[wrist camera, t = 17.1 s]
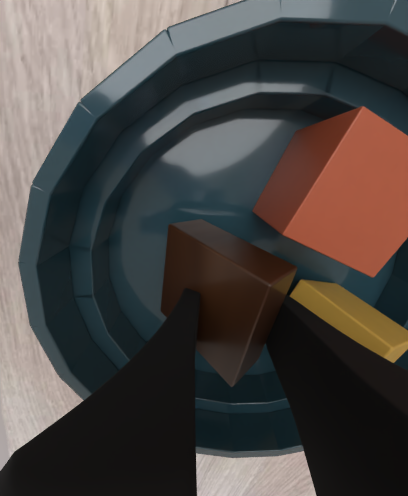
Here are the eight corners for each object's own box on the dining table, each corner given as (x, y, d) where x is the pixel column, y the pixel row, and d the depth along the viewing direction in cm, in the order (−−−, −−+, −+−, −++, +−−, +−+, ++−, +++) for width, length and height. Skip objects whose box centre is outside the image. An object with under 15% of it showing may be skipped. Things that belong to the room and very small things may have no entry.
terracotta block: (251, 211, 10) (281, 235, 7) (296, 130, 9) (363, 105, 5) (314, 241, 11) (373, 278, 7) (363, 170, 10) (464, 172, 6)
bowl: (54, 336, 14) (-8, 410, 9) (157, -39, 8) (109, -297, 3) (292, 406, 17) (323, 482, 13) (493, 189, 11) (674, 202, 7)
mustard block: (260, 337, 11) (325, 419, 8) (300, 278, 10) (395, 349, 7) (299, 331, 13) (362, 394, 10) (336, 282, 12) (419, 337, 9)
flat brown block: (159, 311, 11) (231, 388, 8) (167, 223, 9) (271, 285, 6) (188, 297, 12) (258, 359, 9) (201, 218, 10) (299, 266, 7)
